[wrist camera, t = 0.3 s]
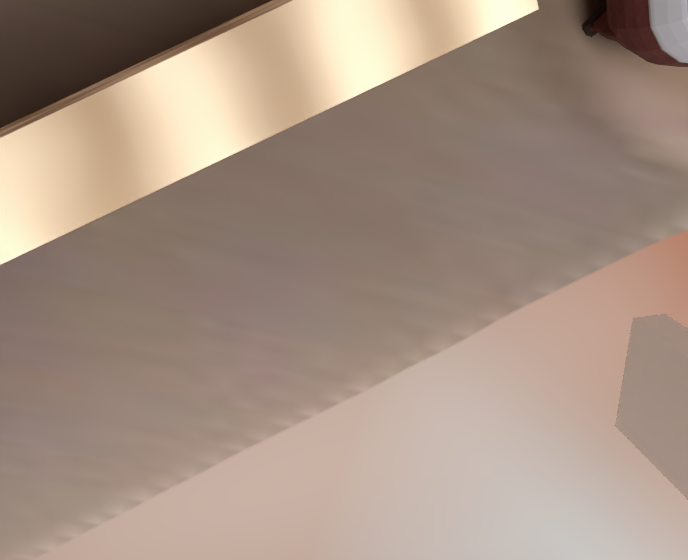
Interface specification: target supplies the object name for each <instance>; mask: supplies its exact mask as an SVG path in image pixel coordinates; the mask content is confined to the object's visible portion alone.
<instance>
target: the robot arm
mask: <svg viewBox="0 0 688 560" xmlns="http://www.w3.org/2000/svg"><path fill="white" fill-rule="evenodd" d="M615 426H616V427H617V428H618V429H619V430H620V431H621V432H622V433H623V434H624V435H625V436H626V437H627V438H628V439H629V440H630V441H631V442H632V443H633V444H634V445H635V446H636V447H637V448H638V449H639V450H640V451H641V452H642V454H644V455H645V457H646V458H648V460H649V461H650V462H651V463H652V464H653V465H654V466H655V467H656V468H657V469H658V470H659V471H660V472H661V473H662V474H663V475H664V476H665V477H666V478H667V479H668V480H669V481H670V482H671V483H672V484H673V485H674V486H675V487H676V488H677V489H678V490H679V491H680V492H681V493H682V494H683V495H684V496H685V497H686V498H687V499H688V328H686V327H685V326H683V325H682V324H680V323H679V322H677V321H676V320H674V319H673V318H671V317H670V316H668V315H667V314H660V315H653V316H645V317H638V318H633V321H632V327H631V333H630V339H629V345H628V351H627V357H626V363H625V370H624V375H623V381H622V387H621V394H620V399H619V405H618V412H617V418H616V424H615Z"/></svg>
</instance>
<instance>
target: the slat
mask: <svg viewBox="0 0 688 560" xmlns="http://www.w3.org/2000/svg"><path fill="white" fill-rule="evenodd" d="M538 9H539V8H538V4H537V0H272V1H270V2H268V3H265V4H263V5H261V6H259V7H257V8H255V9H253V10H251V11H248V12H246V13H244V14H242V15H240V16H238V17H236V18H234V19H231V20H229V21H227V22H225V23H223V24H221V25H219V26H217V27H214V28H212V29H210V30H208V31H206V32H204V33H202V34H200V35H197V36H195V37H193V38H191V39H189V40H187V41H185V42H183V43H180V44H178V45H176V46H174V47H172V48H170V49H168V50H165V51H163V52H161V53H159V54H157V55H155V56H153V57H151V58H148V59H146V60H144V61H142V62H140V63H138V64H136V65H134V66H131V67H129V68H127V69H125V70H123V71H121V72H119V73H117V74H114V75H112V76H110V77H108V78H106V79H104V80H102V81H100V82H97V83H95V84H93V85H91V86H89V87H87V88H85V89H83V90H80V91H78V92H76V93H74V94H72V95H70V96H68V97H65V98H63V99H61V100H59V101H57V102H55V103H53V104H51V105H48V106H46V107H44V108H42V109H40V110H38V111H36V112H34V113H31V114H29V115H27V116H25V117H23V118H21V119H19V120H17V121H14V122H12V123H10V124H8V125H6V126H4V127H2V128H0V265H1V264H3V263H5V262H7V261H9V260H11V259H13V258H15V257H18V256H20V255H22V254H24V253H26V252H28V251H30V250H32V249H34V248H37V247H39V246H41V245H43V244H45V243H47V242H49V241H51V240H53V239H56V238H58V237H60V236H62V235H64V234H66V233H68V232H70V231H72V230H74V229H77V228H79V227H81V226H83V225H85V224H87V223H89V222H91V221H93V220H96V219H98V218H100V217H102V216H104V215H106V214H108V213H110V212H112V211H114V210H117V209H119V208H121V207H123V206H125V205H127V204H129V203H131V202H133V201H136V200H138V199H140V198H142V197H144V196H146V195H148V194H150V193H152V192H154V191H157V190H159V189H161V188H163V187H165V186H167V185H169V184H171V183H173V182H176V181H178V180H180V179H182V178H184V177H186V176H188V175H190V174H192V173H194V172H197V171H199V170H201V169H203V168H205V167H207V166H209V165H211V164H213V163H216V162H218V161H220V160H222V159H224V158H226V157H228V156H230V155H232V154H234V153H237V152H239V151H241V150H243V149H245V148H247V147H249V146H251V145H253V144H256V143H258V142H260V141H262V140H264V139H266V138H268V137H270V136H272V135H274V134H277V133H279V132H281V131H283V130H285V129H287V128H289V127H291V126H293V125H296V124H298V123H300V122H302V121H304V120H306V119H308V118H310V117H312V116H314V115H317V114H319V113H321V112H323V111H325V110H327V109H329V108H331V107H333V106H336V105H338V104H340V103H342V102H344V101H346V100H348V99H350V98H352V97H354V96H357V95H359V94H361V93H363V92H365V91H367V90H369V89H371V88H373V87H376V86H378V85H380V84H382V83H384V82H386V81H388V80H390V79H392V78H394V77H397V76H399V75H401V74H403V73H405V72H407V71H409V70H411V69H413V68H416V67H418V66H420V65H422V64H424V63H426V62H428V61H430V60H432V59H434V58H437V57H439V56H441V55H443V54H445V53H447V52H449V51H451V50H453V49H456V48H458V47H460V46H462V45H464V44H466V43H468V42H470V41H472V40H474V39H477V38H479V37H481V36H483V35H485V34H487V33H489V32H491V31H493V30H496V29H498V28H500V27H502V26H504V25H506V24H508V23H510V22H512V21H514V20H517V19H519V18H521V17H523V16H525V15H527V14H529V13H531V12H533V11H536V10H538Z"/></svg>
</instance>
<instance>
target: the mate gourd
mask: <svg viewBox="0 0 688 560" xmlns="http://www.w3.org/2000/svg"><path fill="white" fill-rule="evenodd" d="M606 3H607V4H605V5H604V6H603V7H602V8H601V9H600V10H599V11H597V12H596V13H595V14H594V15H593V16H592V17H591V18H589V19H588V20H587V21H586V22H585V23H584V24H583V25H582V27H583V30H584V32H585V34H586V35H587V36H591V37H592V36H593V35H595V34H596V33H600V34H601V35H602V36H604V37H606V38H608V39H612V40H615V41H618V42H619V43H620V44H621V45H622V46H624V47H625V48H626V49H628V50H630V51H631V52H633V53H635V54H636V55H638V56H640V57H641V58H643V59H644V60H646V61H647V62H651V63H654V64H658V65H668V66H677V67H688V0H606Z"/></svg>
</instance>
